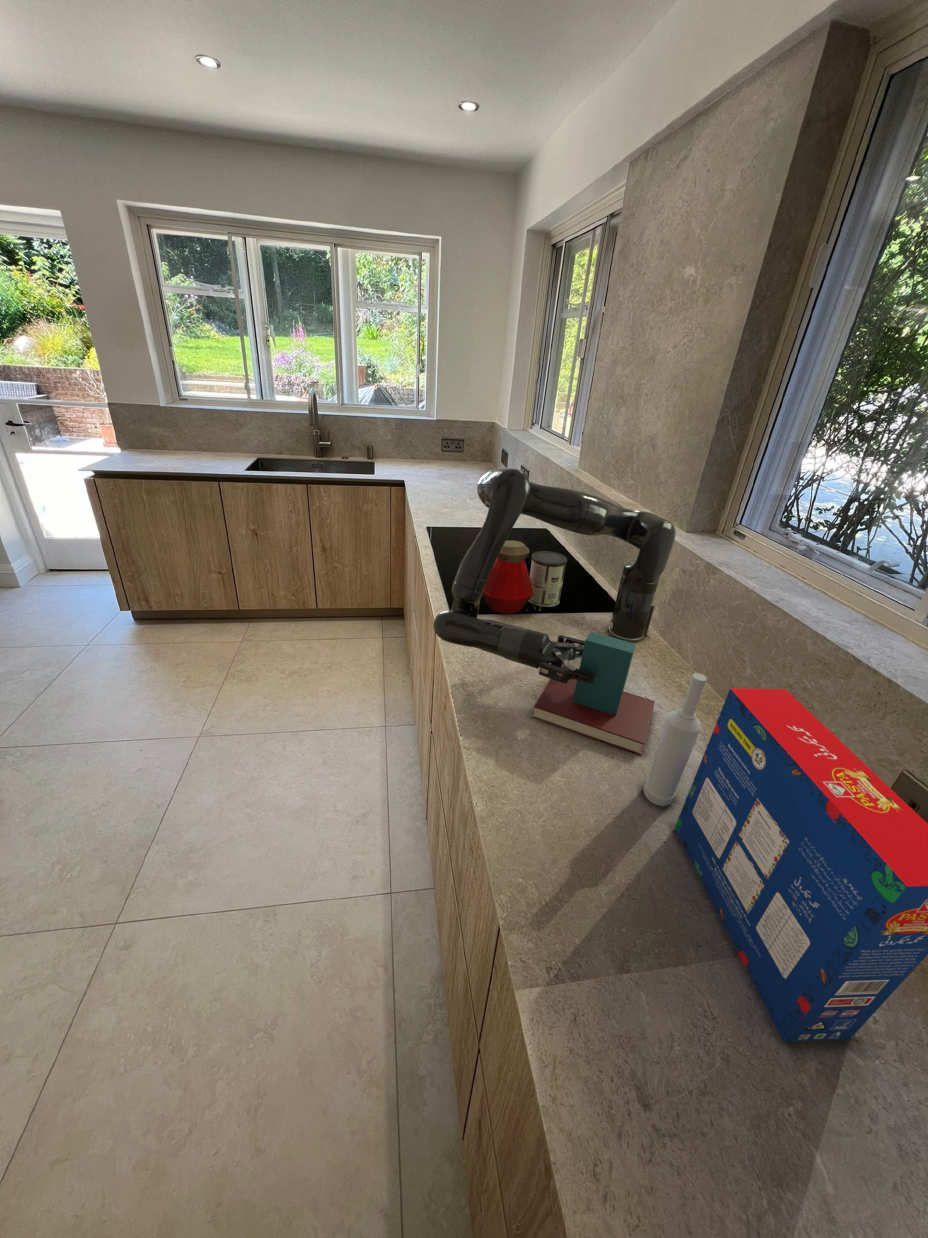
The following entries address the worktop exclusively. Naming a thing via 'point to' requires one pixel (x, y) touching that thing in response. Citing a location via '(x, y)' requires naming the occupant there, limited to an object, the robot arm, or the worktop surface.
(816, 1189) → the worktop surface
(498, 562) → the red lidded jar
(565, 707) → the oxblood cookbook
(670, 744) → the bottle
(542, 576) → the coffee can
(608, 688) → the teal rectangular block
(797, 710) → the pasta box
